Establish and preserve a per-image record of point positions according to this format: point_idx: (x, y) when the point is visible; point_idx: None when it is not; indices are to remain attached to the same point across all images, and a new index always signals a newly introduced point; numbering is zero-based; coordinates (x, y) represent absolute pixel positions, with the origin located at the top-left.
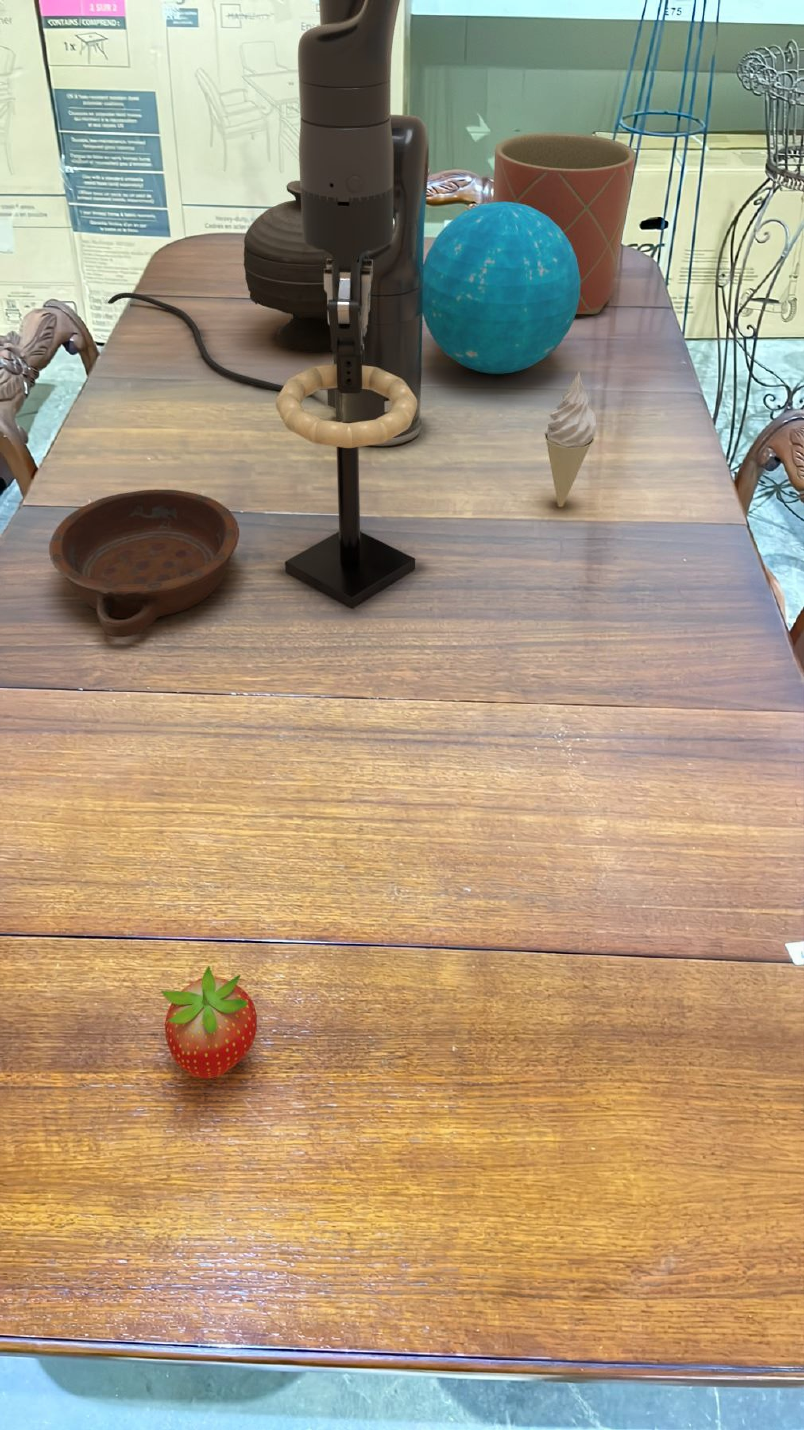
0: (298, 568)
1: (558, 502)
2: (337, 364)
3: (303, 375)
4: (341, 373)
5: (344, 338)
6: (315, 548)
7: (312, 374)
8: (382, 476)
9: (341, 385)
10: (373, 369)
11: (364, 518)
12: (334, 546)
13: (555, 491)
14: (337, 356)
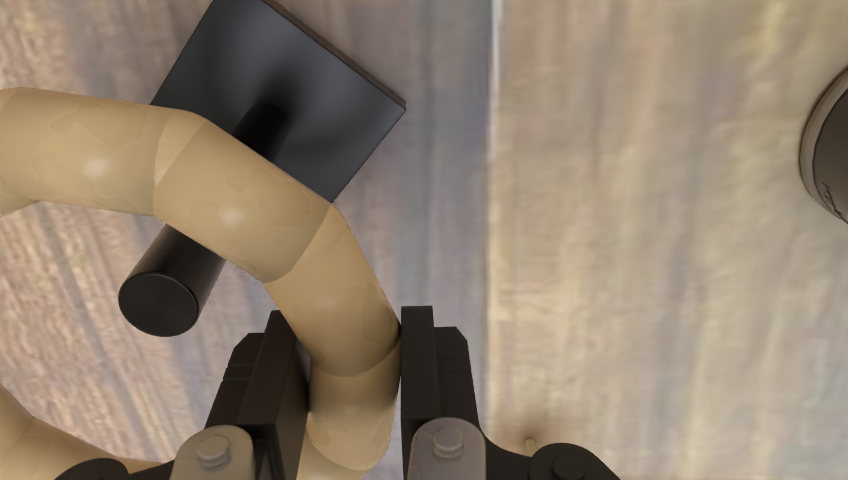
0: (206, 13)
1: (526, 445)
2: (249, 385)
3: (201, 223)
4: (221, 384)
5: (411, 442)
6: (298, 43)
7: (236, 256)
8: (663, 151)
9: (238, 346)
10: (331, 463)
11: (480, 127)
12: (313, 86)
13: (533, 454)
14: (239, 415)
